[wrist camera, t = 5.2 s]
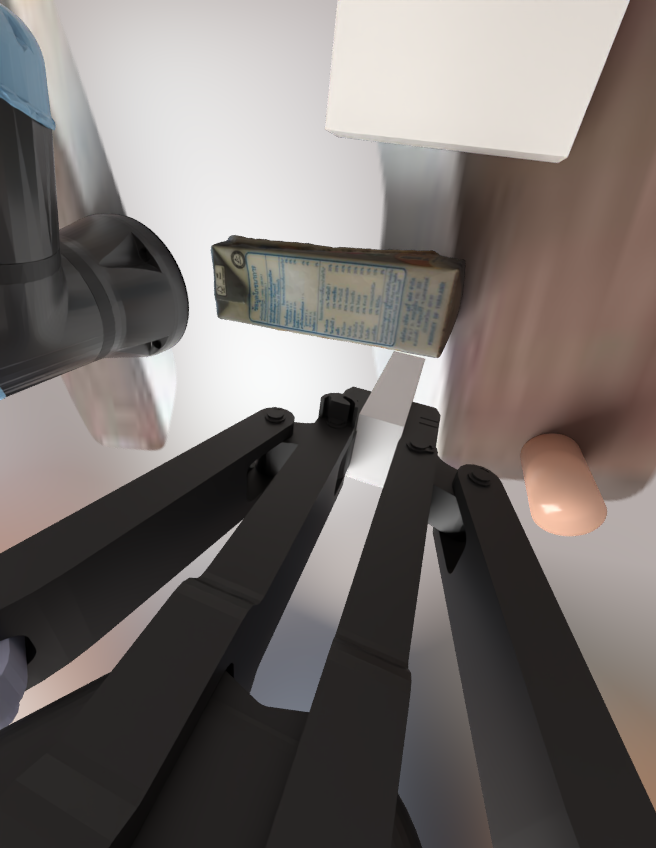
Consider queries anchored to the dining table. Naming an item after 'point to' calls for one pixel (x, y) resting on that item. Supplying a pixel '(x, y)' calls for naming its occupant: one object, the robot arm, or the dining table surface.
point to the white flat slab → (469, 72)
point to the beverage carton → (340, 292)
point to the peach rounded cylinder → (561, 486)
